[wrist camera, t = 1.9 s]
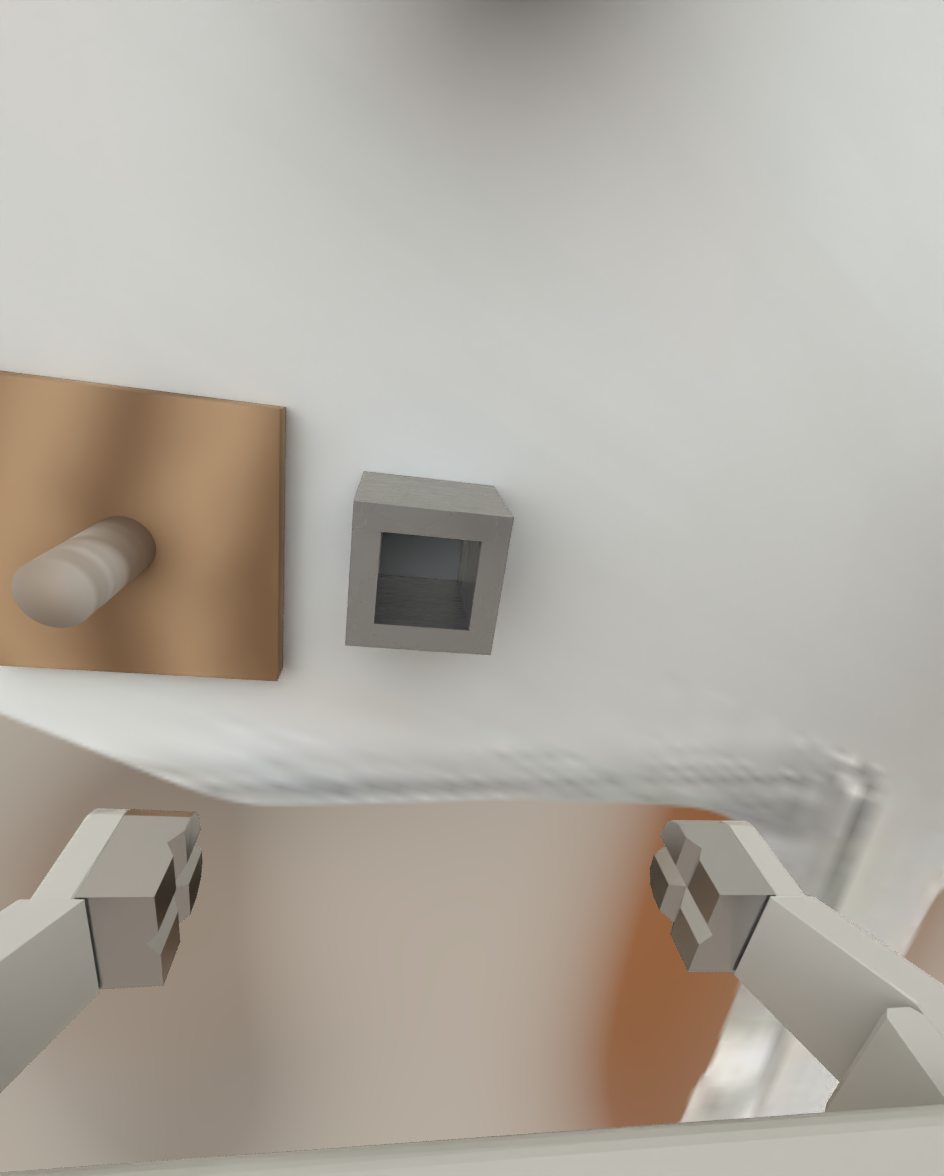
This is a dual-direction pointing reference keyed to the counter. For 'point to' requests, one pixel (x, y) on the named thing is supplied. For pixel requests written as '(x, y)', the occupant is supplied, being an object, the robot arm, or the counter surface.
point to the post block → (140, 530)
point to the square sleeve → (420, 605)
